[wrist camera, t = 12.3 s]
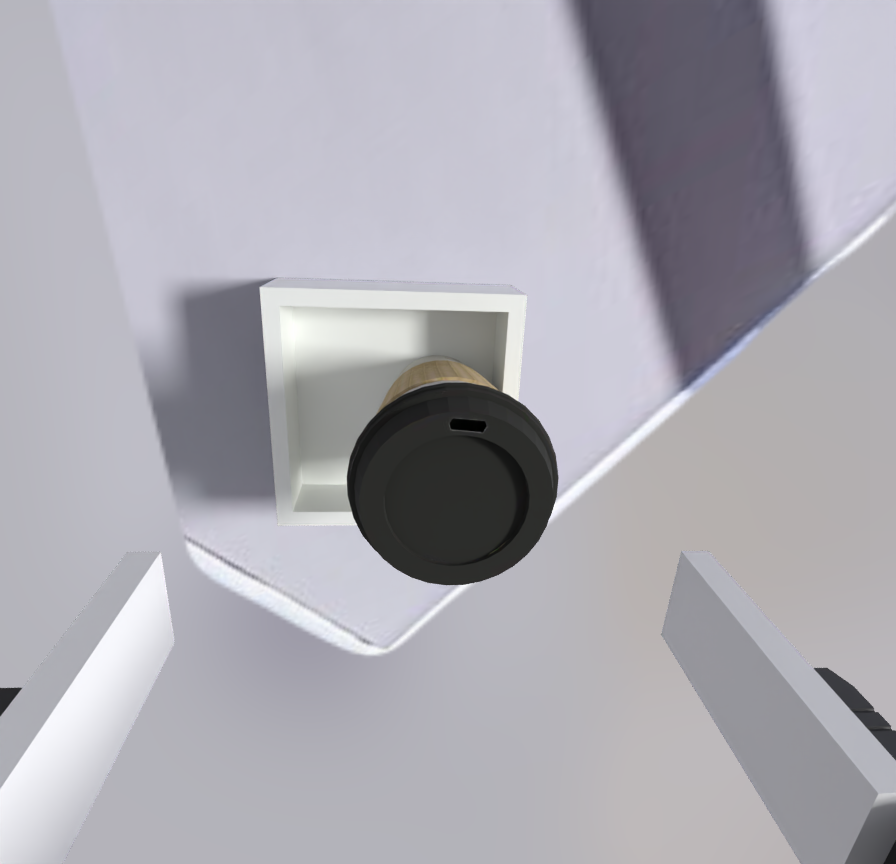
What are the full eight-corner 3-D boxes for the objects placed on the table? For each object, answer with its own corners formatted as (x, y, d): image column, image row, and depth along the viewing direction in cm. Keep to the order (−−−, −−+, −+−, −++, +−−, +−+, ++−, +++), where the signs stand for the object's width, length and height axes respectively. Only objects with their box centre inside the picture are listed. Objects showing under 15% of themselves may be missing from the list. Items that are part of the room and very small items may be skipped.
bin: (277, 277, 36) (259, 287, 31) (511, 285, 37) (527, 295, 33) (290, 490, 41) (277, 525, 37) (495, 490, 43) (507, 524, 38)
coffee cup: (359, 460, 40) (336, 592, 26) (368, 319, 36) (349, 384, 22) (496, 471, 41) (547, 602, 27) (518, 335, 38) (589, 405, 24)
